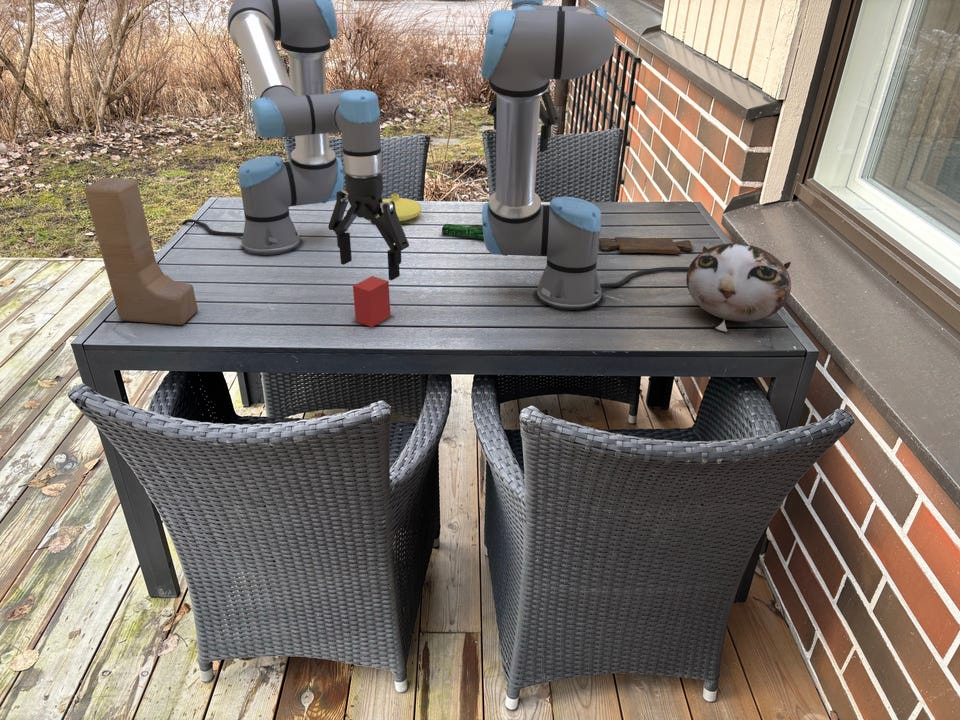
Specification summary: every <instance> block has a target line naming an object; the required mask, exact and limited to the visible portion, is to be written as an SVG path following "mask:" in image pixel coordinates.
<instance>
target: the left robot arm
mask: <svg viewBox="0 0 960 720" xmlns="http://www.w3.org/2000/svg"><path fill="white" fill-rule="evenodd" d="M335 11H336V10H335V7H334V3H333V0H233V2H232V4H231V6H230V8H229V10H228V14H227V31H228V34H229V36H230V39H231V41H232V43H233V45H235V46H236V47H237V48H238V49H239V51H240V53H241V56H242V60H243V62H244V65H245V67H246V71H247V73H248V76H249V79H250V81H251V85H252V87H253V90H254V93H255V96H256V98H255V99H253V100H252V102H251V111H252V112H251V113H252V119H253V124H254V128H255V131H256V133H257V136H259V137H260V138H262V139H271V138H276V139H282V138H292V137H294V139H295V148H294V149H293V150H292V151H291V152H290V161H284V160H283V158H282V157H281V156H279V155H263V156H259V157H255V158H251V159H248V160H247V161H245V162H243V163H242V164H241V165H240V166H239V168H238V170H237V174H238V186H239V188H240V194H241V195H240V196H241V201H242V207H243V212H244V213H243V215H244V219H245V220H244V226H243V228H244V229H243V232H234V231H220V230H213V229H211V228H210V227H209V225H208V224H206V223H205V222H202V221H200V220H196V219H193V218H188V219H185V220H183V221H182V222H181V225H182V226H186V225H187V224H190V223H191V224H195V225H197V226H201V227H202V228H203V227H204V229H205V230H206V232H208V233H209V234H212V235H218V236H230V237H231V236H232V237H241V246H242V249H243V251H244V252H246V253H248V254H252V255H255V256H256V255H257V256H275V255H281V254H282V255H283V254H285V253H289V252H291V251H293V250H296V249H297V248H298V247H299V246H300V244H301V241H300V235H299V233H298V231H297V229H296V227H295V225H294V223H293V220H292V218H291V216H290V207H299V206H305V205H306V206H308V205H314V204H315V205H316V204H326V203H329V202H335V201H336V202H335V204H334V208H333V211H332V214H331V217H330V219H329V223H328V226H327V227H328V230H329V231H333V232H334V234H335V236H336V243H337V248H338V249H339V257H340V258H339V259H340V265H343V266H344V265H346V264H348V263H350V262H352V261H353V257H352V247H351V246H352V245H351V232H348V231H349V228H350V227H351V225H352V224H353V223H354V221H355V220H356V219H357V218H358V219H359V218H361V219H362V218H363V219H365V220H367V221H370V223H371V224H373V225H374V226H375V227H376V229H377V230H378V232H379V234H380V235H381V236H382V238H383V240H384V242H385V243H386V245H387V246H388V248H389V249H388V250H387V269H388V281H393V280H395V279H398V278H399V277H400V276H401V273H400V265H401V264H402V251H403V250H405V249H408V248H409V246H410V243H409V240H408V239H407V235H406V233H405V231H404V229H403V228H404V227H403V226H402V224H401V221H399V218H398V216H397V213H396V208H395V203H394V201H390V202H383V200H382V199H383V198H382V194H383V191H384V177H383V174H382V173H381V172H382V171H383V162H382V143H381V142H382V141H381V140H382V138H381V123H380V122H381V121H380V120H381V119H380V116H381V109H380V104H379V97H378V95H377V93H375V92H374V91H372V90H366V89H350V90H346V89H342V88H338V89H334V90H332V91H330V92H329V93H327V79H326V62H325V61H326V59H325V58H326V57H325V56H326V54H327V53H328V52H329V51H330V50H331V40H332V41H333V40H334V39H336V38H338V21H337V16H336V15H337V14H336V12H335ZM276 42H280V49H282V50H283V51H284V52H285V53H286V54H287V57H288V69H289V74H288V72H287V69H286V67H285V64H284V61H283V59H282V56H281V54H280V52H279V49H278V47H277V45H276ZM337 133H340V134H341V142H342V157H343V158H342V159H343V162H342V160H341V158H340V157H338V156H336V152H335V151H334V150H333V149H332V148H331V147H330V135H329V134H337ZM344 172H345V175H344ZM344 185H345V188H344ZM348 205H350V207H347V206H348ZM347 208H348V209H347ZM345 212H346V214H345ZM378 214H379V216H380V217H378V218H376V217H377V216H378ZM193 222H194V223H193Z"/></svg>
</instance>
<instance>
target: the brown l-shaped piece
mask: <svg viewBox="0 0 960 720" xmlns="http://www.w3.org/2000/svg"><path fill="white" fill-rule="evenodd" d="M83 191H84V194H85V199H86V201H87V206H88V209H89V212H90V217H91V220H92V224H93V227H94V231H95V234H96V238H97V242H98V245H99V249H100V253H101V256H102V260H103V263H104V267H105V270H106V275H107V278H108V283H109V286H110V289H111V292H112V293H111V294H112V297H113V300H114V304H115V308H116V311H117V315H118V318H119V320H120V321H124V322H137V323H150V324H160V325H161V324H162V325H173V326H174V325H175V326H182V325H185V324H186V323H187V322H188V321H189V320H190V319H192V318H193V316H194V315H195V314H196V313H197V312H198V304H197V299H196V293H195V290H194V285H192V283H187V282H182V281H177V280H174V279H172V278H171V277H170V276H167V275H166V274H164V272H163V270H162V269H161V267H160V265H159V264H158V262H157V260H156V257H155V252H154V248H153V245H152V239H151V235H150V231H149V227H148V223H147V218H146V214H145V209H144V206H143V201H142V196H141V192H140V189H139V184H138V181H137V179H133V178H116V177H115V178H114V177H104V178H101V179H99V180H97V181H96V182H93V183H92V184H90V185H87V186H85V187H84V190H83Z"/></svg>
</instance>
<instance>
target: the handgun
mask: <svg viewBox="0 0 960 720" xmlns="http://www.w3.org/2000/svg"><path fill="white" fill-rule="evenodd" d="M441 235H446V236H454V237H462V238H469V239H470V238H471V239H474V240H479V241H483V242H484V236H483V225H479V224H472V225H459V224H453V223H445V224H443V226H442V227H441Z"/></svg>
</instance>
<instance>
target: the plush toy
mask: <svg viewBox="0 0 960 720" xmlns="http://www.w3.org/2000/svg"><path fill="white" fill-rule="evenodd" d="M791 263H792V261H788V262H785V263H782V261H781V260H779V258H778V257H776V256H775V255H773V254H772V253H770V252H768V250H765V249H763V248H760V247H758V246H754V245H751V244H746V243H739V242H738V243H735V242H734V243H733V242H732V243H731V242H730V243H729V242H728V243H722V244H718V245H714V246H711V247H709V248H707V247H706V246H705V245H703V246H702V251H701V253H699V254H698V255H697V256H696V257H695V258H694V259H693V260H692V261H691V263H690V264H689V266H688V267H689V268H688V271H687V272H686V279H685V280H686V281H685V283H686V287H687V290H688V292H689V295H690V296H691V298H692V300H693V301H694V302H695V304H697V305H698V306H699V307H700V308H701V309H702V310H704V311H705V312H706V313H708V314H710V315H712V316H714V317H717V318H719V319H722V322H721V323H720V324H719V325H718V326H716V327H715V329H716V330H718V331H722V332H728V329H727V326H726V320H727V321H730V322H737V323H738V322H740V323H747V322H756V321H761V320H765V319H767V318H770V317H771V316H772V315H774V314H776V313H777V312H779V311H780V310H782V308H783V307H784V306H785V305H786V303H787V302H788V300H789V298H790V295H791V292H792V281H791V280H792V279H791V276H790V273H789V271H788V269H789V268H790V266H791Z"/></svg>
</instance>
